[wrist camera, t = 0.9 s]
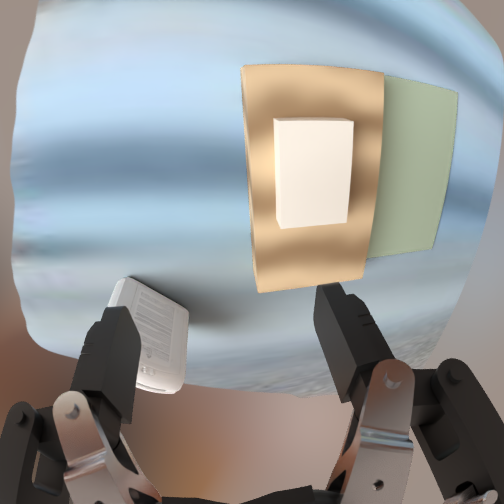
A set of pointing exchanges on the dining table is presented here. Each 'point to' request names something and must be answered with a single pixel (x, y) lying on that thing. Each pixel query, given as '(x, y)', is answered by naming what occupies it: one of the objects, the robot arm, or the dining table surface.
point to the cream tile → (312, 170)
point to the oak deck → (263, 171)
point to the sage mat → (412, 166)
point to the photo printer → (156, 335)
